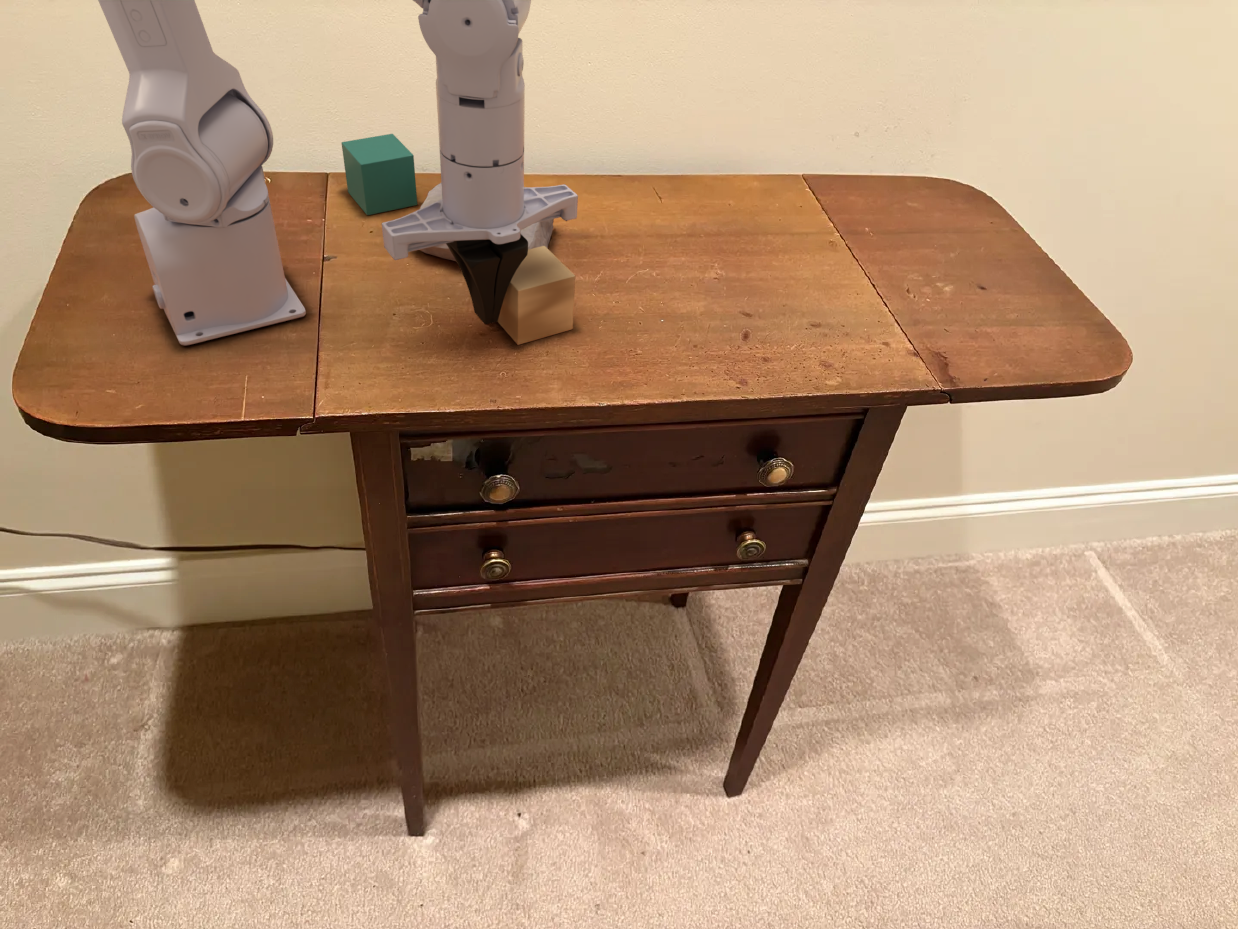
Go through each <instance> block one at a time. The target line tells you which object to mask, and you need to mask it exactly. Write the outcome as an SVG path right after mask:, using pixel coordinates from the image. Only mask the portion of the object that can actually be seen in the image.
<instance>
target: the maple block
mask: <svg viewBox="0 0 1238 929" xmlns="http://www.w3.org/2000/svg"><path fill="white" fill-rule="evenodd" d="M547 248H548V247H547ZM547 248H546V247H545V246H541V247H537V248H533V249H529V250H528V254H527V256H526V257H525V259H524V260H523V261H522V263H521V264H520V266H519V267H518V269H517V270H516V272H515V274H514V276H513V278H512V280H511V282H510V284H509V286H508V289H507V292H506V294H505V297H504V300H503V304H502V307H501V311H500V315H499V319H498V321H497V322H496V323H498V324H499V325H500V326H501V328H503V330H504V331H505V332H506V333H507V334H508V336H509V337H510V338H511V339H512V340H513V341H514V342H515V344H517V345H518V346H519V345H523V344H527V343H530V342H533V341H537V340H540V339H544V338H547V337H550V336H554V335H557V334H560V333H565V332H568V331H571V330H573V329H574V310H575V309H574V308H575V291H576V275H575V273H573V272H572V271H571V270H570V269H569V268H568V267H567V266H566V265H565V264H564V263H563V262H562V261H561V260H560V259H559V258H558V257H557V256H556V255H555V254H554V253H553V252H552V251H551V250H550V249H547Z"/></svg>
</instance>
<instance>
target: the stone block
mask: <svg viewBox="0 0 1238 929" xmlns="http://www.w3.org/2000/svg"><path fill="white" fill-rule="evenodd" d="M525 187H526V186H524V188H525ZM441 199H442V183H441V182H440V183H438V184H437V185H435V186H434V187H433V188H432V189H431V190H429V191H428V193H427V196H426V198H425V200H424V201H423V203H422V204H421V205H420V207H419V209H421V208H424V207H426V206H428V205H430V204H433V203H435V202H437V201H439V200H441ZM554 222H555V219H551V220H546V221H542V222H538V223H534V224H532V225H530V226H528V227H526V228H524V229H522V230H520V234H521V235H523V236H524V237H525V238H526V239H527V241H528V250H529V249H533V248H537V247H541V246H545V247H546V248H547V249H548V247H549V244H550V241H551V236H552V234H553V230H554ZM548 250H549V249H548ZM419 251H420V252H422V253H425V254H428V255H430V256H431V255H432V256H434V257H437V258H441V259H445V260H450V261H453V262H456V260H455V258H454V256H453V254H452V253H451V251H450V249H449V248H448V246H447V244H442V245H437V246H433V247H428V248H424V249H420V250H419Z"/></svg>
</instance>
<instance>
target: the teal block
mask: <svg viewBox="0 0 1238 929" xmlns="http://www.w3.org/2000/svg"><path fill="white" fill-rule="evenodd" d="M341 150H342V157H343V164H344V173H345V181H346V189H347V193H348V194H349V195H350V196H351V198H352V199H353V201H355V203H356V204H357V205H358V207H359V208H360V209H361V210H362V212H364V213H365V215H366V216H371V215H372V216H373V215H376V214H377V215H378V214H381V213H387V212H390V211H395V210H400V209H401V210H402V209H405V208H410V207H414V206H418V193H417V181H416V169H415V157H414V154H413V153H412V152H411V151H410V150H409V149H408V148H407V147H406V145H404V144H403V142H402V141H400V140H399V138H398V137H397V136H396V135H395V134H394V133H388V134H383V135H376V136H369V137H364V138H358V139H353V140H346V141H342V142H341Z"/></svg>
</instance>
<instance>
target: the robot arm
mask: <svg viewBox="0 0 1238 929" xmlns="http://www.w3.org/2000/svg"><path fill="white" fill-rule="evenodd" d="M97 1H98V3H99V6H100V8H101V10H102V13H103V15H104V17H105V20H106V22H107V25H108V27H109V30H110V32H111V34H112V36H113V38H114V41H115V43H116V45H117V48H118V51H119V53H120V55H121V57H122V60H123V62H124V64H125V67H126V68H127V71H128V75H129V77H128V85H127V90H126V94H125V100H124V105H123V111H122V115H121V116H122V118H121V124H122V126H123V130H124V132H125V133H126V136H127V138H128V141H129V145H130V150H131V158H130V169H131V175H132V178H133V181H134V184H135V186H136V188H137V190H138V191H139V193H140V194H141V195H142V196H143V198H144V199H145V201H147V202H148V204H149V205H151V206H152V207H151V208H149V209H145V210H143V211H140V212H137V213H134V215H133V218H134V221H135V225H136V229H137V232H138V236H139V239H140V242H141V246H142V249H143V252H144V255H145V258H146V261H147V265H148V268H149V271H150V274H151V277H152V281H153V284H152V286H151V287H152V291H153V294H154V297H155V300H156V303H157V305H158V308H159V309H161V310H163V311H164V313H165V315H166V318H167V319H168V322H169V324H170V326H171V329H172V330H173V332H174V334H175V337H176V339H177V341H178V343H179V345H181V346H190V345H194V344H195V345H196V344H198V343H203V342H206V341H210V340H211V341H212V340H215V339H218V338H224V337H226V336H231V335H234V334H238V333H243V332H247V331H250V330H254V329H259V328H263V327H267V326H271V325H275V324H279V323H283V322H286V321H290V320H291V321H292V320H296V319H299V318H303V317H305V316H306V314H307V311H306V307H305V306H304V304H303V303H302V302H301V300H300V299H299V297H298V295H297V293H296V292H295V291H294V289H293V288H292V286H291V285H290V283H289V281H288V279H287V278H286V276H285V270H284V266H283V260H282V256H281V251H280V245H279V240H278V236H277V235H278V234H277V230H276V226H275V220H274V215H273V210H272V205H271V200H270V196H269V195H270V194H269V190H268V186H267V184H266V177H265V173H264V169H263V168H264V167H263V165H264V164H265V163H266V162H268V160H269V159H270V157H271V154H272V152H273V147H274V133H273V129H272V127H271V123H270V121H269V120H268V118H267V116H266V114H265V113H264V111H263V110H262V108H260V106H259V105H258V104H257V103H256V102H255V100H253V98H252V97H251V95H250V94H249V93H248V90H247V89H246V87H245V84H244V83H243V79H242V77H241V73H240V71H239V70H238V68H236V66H234V65H232V64H231V63H229V62H228V61H227V60H226V59H224V58H222V57H220V56H219V55H218V54H216V53H215V51H214V50H213V47H212V45H211V42H210V39H209V37H208V36H209V35H208V34H207V30H206V27H205V26H204V25H205V24H204V23H203V19H202V17H201V15H200V12H199V9H198V6H197V3H196V1H195V0H97ZM412 2H414V3H415V4H417V5H418V6H419V7H420V8H421V9H422V13H419V15H418V17H417V18H418V25H419V29H420V32H421V35H422V37H423V39H424V41H425V43H426V45H427V47H428V48H429V49H430V51H431V52H432V53H433V54H434V56H435V69H436V79H435V94H436V111H437V126H438V128H437V129H438V145H439V147H438V148H439V160H440V162H439V164H440V179H441V180H440V181H441V182H440V183H442V199H441V200H439V201H437V202H435V203H433V204H430V205H428V206H426V207H424V208H421V209H420V208H419V209H417V210H415V211H413V212H410V213H408V214H406V215H403V216H401V217H399V218H396V219H395V218H394V219H392V220H388V221H384V222H382V223H381V229H382V231H381V232H382V239H383V248H384V249H385V250H386V251H387V253H388V254H389V255H390V257H391V258H392V259H393V261H400V260H404V259H406V258H408V257H409V253H411V252H415V251H421V250H420V249H424V248H428V247H433V246H437V245H442V244H447V246H448V248H449V249H450V251H451V253H452V254H453V256H454V258H455V260H456V261H455V262H456V264H457V265H458V268H459V270H460V272H461V274H462V276H463V278H464V281H465V283H466V287H467V289H468V292H469V295H470V299H471V302H472V307H473V312H474V313H475V315H476V316H477V317H478V318H479V319H480V321H481V322H482V323H483V324H484V325H490V324H494V323H498V322H497V321H498V319H499V315H500V311H501V307H502V304H503V300H504V297H505V294H506V292H507V289H508V286H509V284H510V282H511V280H512V278H513V276H514V274H515V272H516V270H517V269H518V267H519V266H520V264H521V263H522V261H523V260H524V259H525V257H526V256H527V254H528V241H527V239H526V238H525V237H524V236H523V235H521V234H520V230H522V229H524V228H526V227H528V226H530V225H532V224H534V223H538V222H542V221H546V220H551V219H554V220H555V219H559V218H561V220H563V221H565V222H566V221H572V220H576V219H577V218H578V207H579V206H578V203H579V195H578V194H577V192H575V191H574V190H572V188H570V187H569V186H568V185H566V184H564V183H563V184H558V185H551V186H532V187H531V186H530V187H529V186H528V187H527V186H525V111H526V110H525V109H526V108H525V107H526V106H525V103H526V101H525V100H526V98H525V94H526V86H525V85H526V84H525V79H524V77H523V71H524V66H525V64H524V62H525V61H524V55H523V39H522V38H521V37H519V35H520V33H521V30H522V29H523V27H524V25H525V23H526V22H527V20H528V18H529V14H530V10H531V5H532V4H531V3H532V0H412ZM524 187H525V188H524Z"/></svg>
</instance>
